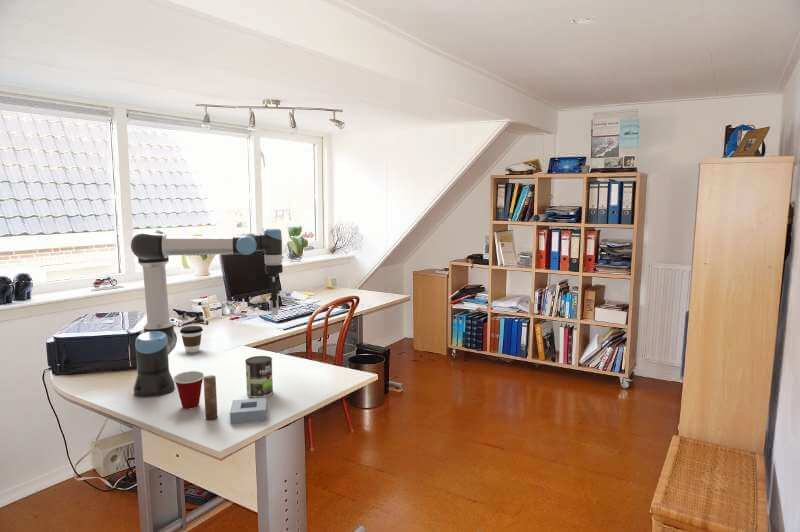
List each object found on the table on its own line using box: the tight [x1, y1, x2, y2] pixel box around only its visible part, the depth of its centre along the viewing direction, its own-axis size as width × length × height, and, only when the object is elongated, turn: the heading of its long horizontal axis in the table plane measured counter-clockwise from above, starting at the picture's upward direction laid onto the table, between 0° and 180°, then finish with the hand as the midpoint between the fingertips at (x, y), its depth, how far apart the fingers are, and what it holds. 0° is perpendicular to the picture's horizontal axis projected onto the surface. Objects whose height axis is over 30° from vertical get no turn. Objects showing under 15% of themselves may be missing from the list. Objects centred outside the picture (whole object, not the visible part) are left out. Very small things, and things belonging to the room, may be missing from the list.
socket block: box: [229, 397, 268, 425], centre depth 191 cm, size 12×12×4 cm
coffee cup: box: [179, 325, 204, 353], centre depth 273 cm, size 11×11×12 cm
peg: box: [203, 374, 218, 421], centre depth 188 cm, size 4×4×15 cm
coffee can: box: [244, 355, 274, 399], centre depth 212 cm, size 10×10×14 cm
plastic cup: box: [172, 370, 205, 410], centre depth 199 cm, size 11×11×12 cm
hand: (275, 311), depth 236 cm, fingers open, 13 cm apart
